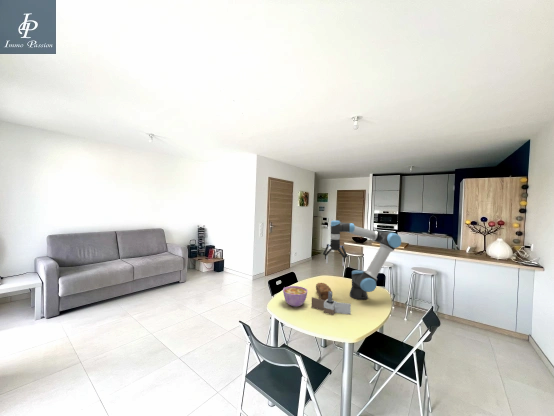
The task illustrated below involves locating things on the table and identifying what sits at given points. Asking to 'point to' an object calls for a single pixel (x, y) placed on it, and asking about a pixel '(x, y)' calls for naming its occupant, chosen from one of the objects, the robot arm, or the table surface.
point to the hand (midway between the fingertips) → (334, 264)
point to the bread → (322, 290)
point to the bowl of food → (295, 295)
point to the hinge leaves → (331, 306)
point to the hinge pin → (330, 297)
